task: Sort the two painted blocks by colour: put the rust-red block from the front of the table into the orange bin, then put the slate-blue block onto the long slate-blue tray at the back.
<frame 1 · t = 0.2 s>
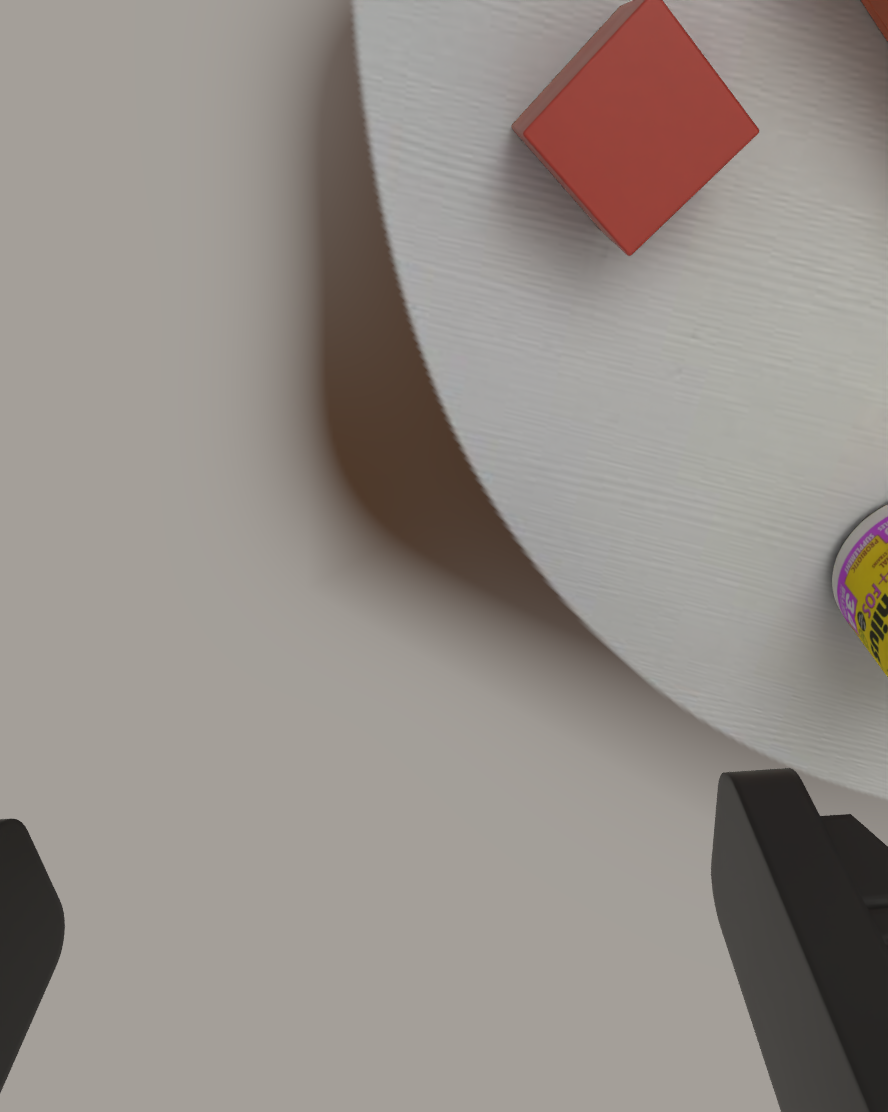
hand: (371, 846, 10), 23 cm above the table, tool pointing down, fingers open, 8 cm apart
red block: (612, 125, 26), on the table
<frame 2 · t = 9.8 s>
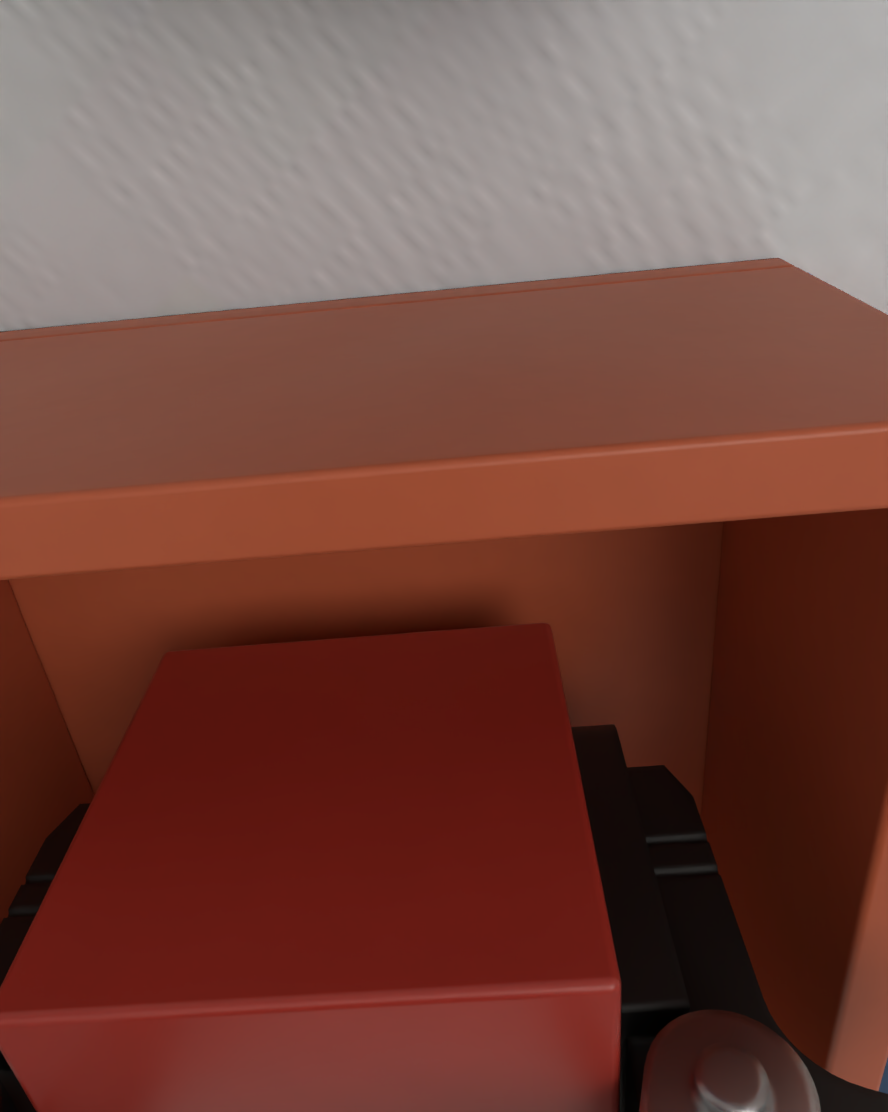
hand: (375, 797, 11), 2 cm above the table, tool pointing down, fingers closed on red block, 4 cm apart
orange bin: (387, 690, 12), on the table
red block: (380, 779, 11), point 2 cm above the table, touching gripper
when the fingers open (4 cm above the table, at t = 21.0 s): red block drops 3 cm, resting on orange bin.
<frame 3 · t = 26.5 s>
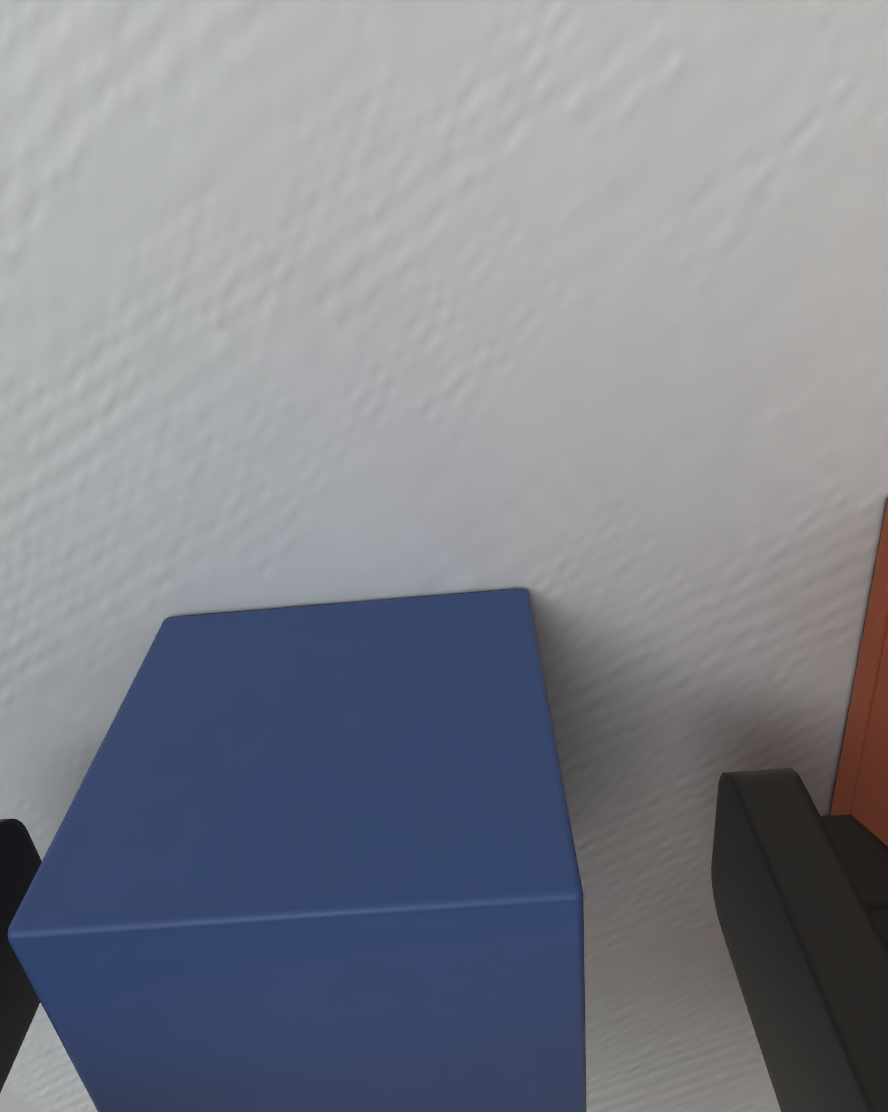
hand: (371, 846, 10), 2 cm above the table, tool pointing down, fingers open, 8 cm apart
blue block: (368, 740, 11), on the table
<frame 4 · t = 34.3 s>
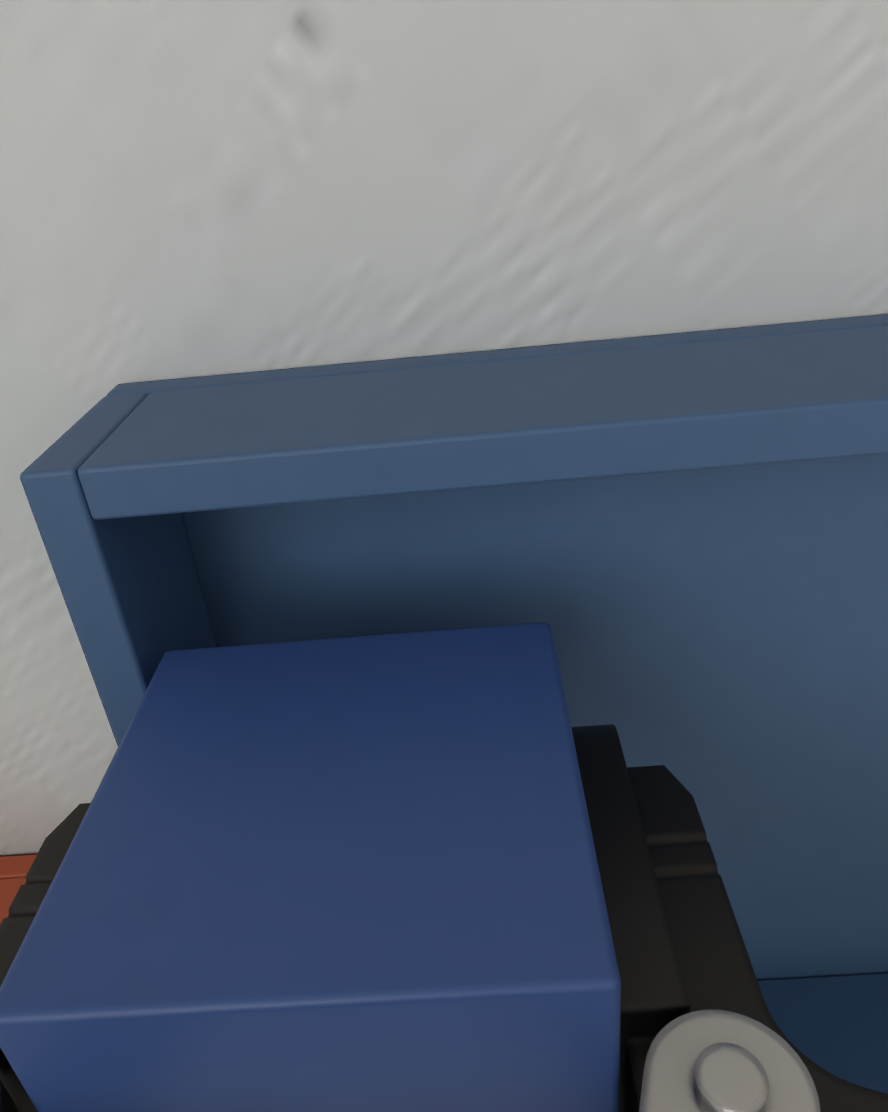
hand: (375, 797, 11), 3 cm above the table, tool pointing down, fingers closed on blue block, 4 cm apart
blue block: (380, 778, 11), point 3 cm above the table, touching gripper
when the fingers open (3 cm above the table, at t = 36.2 s): blue block drops 2 cm, resting on blue tray.
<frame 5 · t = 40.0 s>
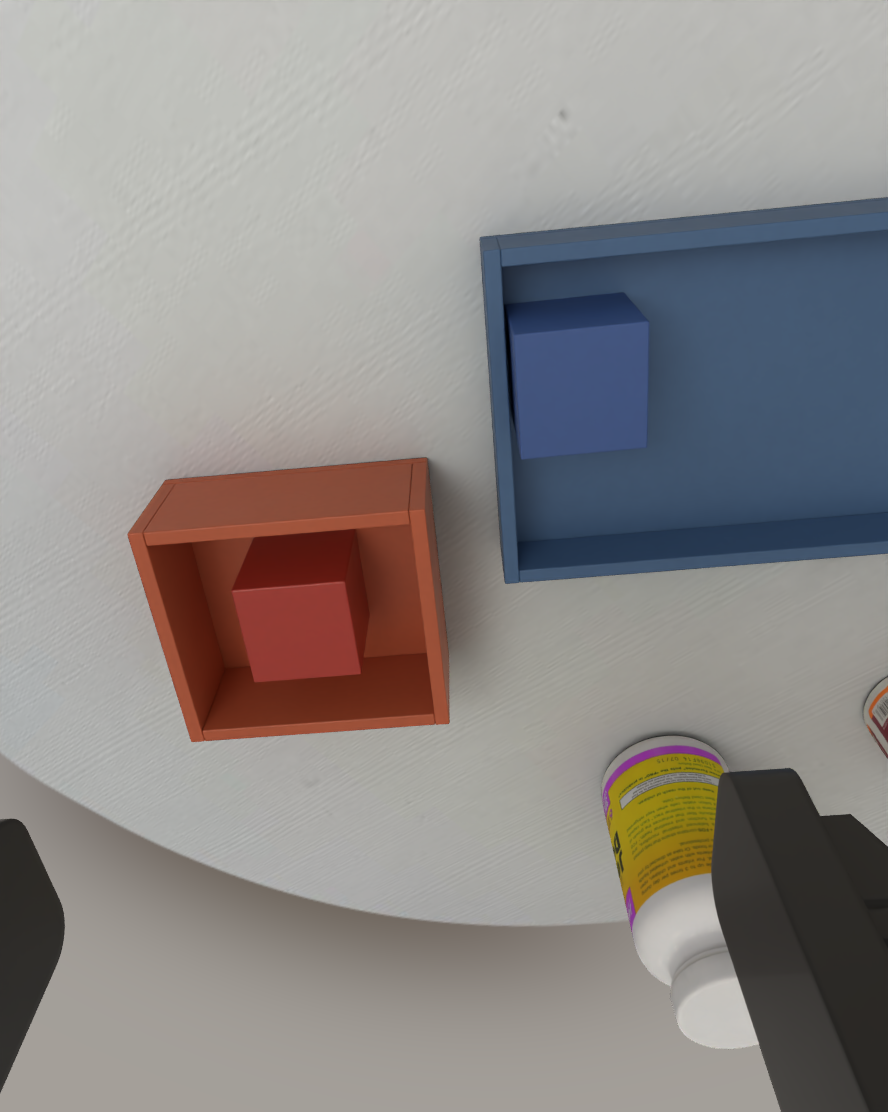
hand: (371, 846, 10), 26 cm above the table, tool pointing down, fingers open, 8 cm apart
supplement bottle: (661, 776, 44), on the table
orange bin: (315, 572, 38), on the table
red block: (313, 576, 38), resting on orange bin
blue block: (566, 356, 33), resting on blue tray
blue tray: (882, 373, 34), on the table
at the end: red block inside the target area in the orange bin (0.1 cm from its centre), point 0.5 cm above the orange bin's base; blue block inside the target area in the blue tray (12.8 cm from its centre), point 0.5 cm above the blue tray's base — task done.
